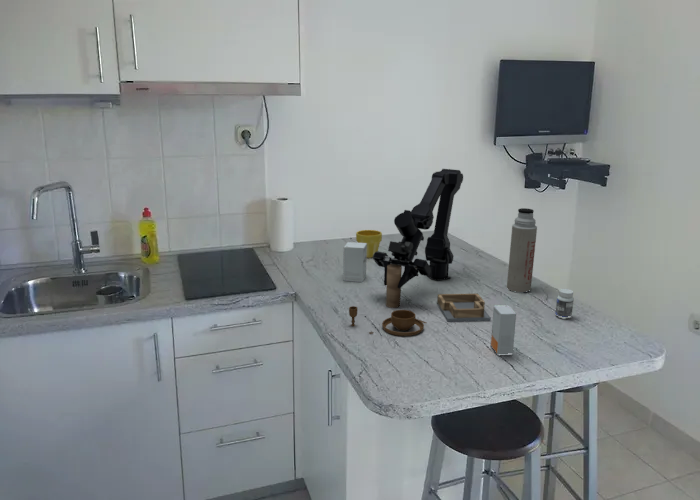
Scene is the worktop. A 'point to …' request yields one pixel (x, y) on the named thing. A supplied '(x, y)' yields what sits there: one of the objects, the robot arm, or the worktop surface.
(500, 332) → the skincare box
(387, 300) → the walnut peg
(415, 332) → the place setting
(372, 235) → the plant pot
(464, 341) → the worktop surface
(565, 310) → the pill bottle
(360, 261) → the supplement box
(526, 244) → the thermos bottle
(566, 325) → the worktop surface
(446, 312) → the keyhole plate
